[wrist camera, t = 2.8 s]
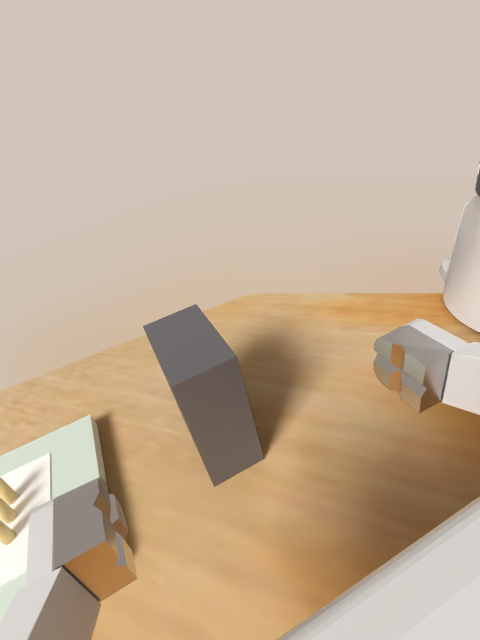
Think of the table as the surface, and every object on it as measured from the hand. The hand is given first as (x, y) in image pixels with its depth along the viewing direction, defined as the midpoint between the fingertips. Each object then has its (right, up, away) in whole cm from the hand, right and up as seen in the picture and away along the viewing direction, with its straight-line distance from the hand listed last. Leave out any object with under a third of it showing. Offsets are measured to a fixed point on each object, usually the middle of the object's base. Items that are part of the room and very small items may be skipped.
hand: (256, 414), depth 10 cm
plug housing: (-2, -7, +18) cm, 20 cm away
